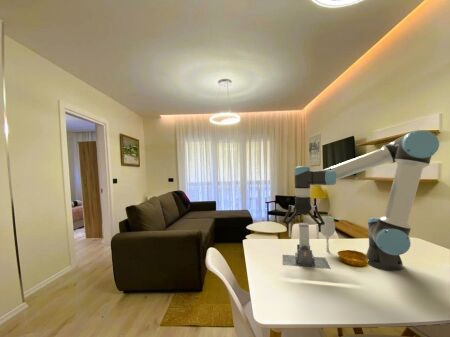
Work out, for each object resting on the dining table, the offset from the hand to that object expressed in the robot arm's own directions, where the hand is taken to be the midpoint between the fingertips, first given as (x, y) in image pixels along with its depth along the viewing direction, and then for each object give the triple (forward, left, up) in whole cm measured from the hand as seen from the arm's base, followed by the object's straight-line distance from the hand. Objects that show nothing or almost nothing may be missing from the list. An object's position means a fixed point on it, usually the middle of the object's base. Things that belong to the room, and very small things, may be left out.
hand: (303, 237), depth 113 cm
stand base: (0, 0, -13) cm, 13 cm away
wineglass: (-14, -16, -13) cm, 25 cm away
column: (0, 0, -12) cm, 12 cm away
